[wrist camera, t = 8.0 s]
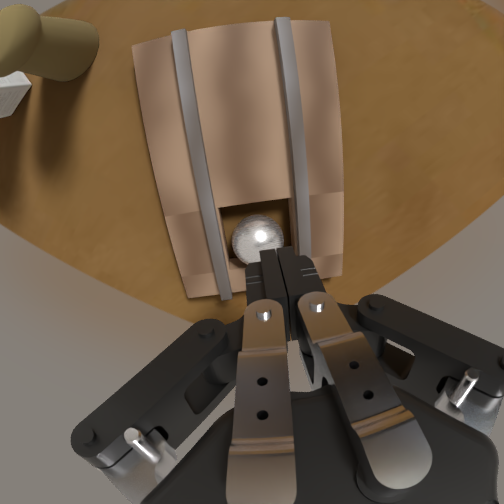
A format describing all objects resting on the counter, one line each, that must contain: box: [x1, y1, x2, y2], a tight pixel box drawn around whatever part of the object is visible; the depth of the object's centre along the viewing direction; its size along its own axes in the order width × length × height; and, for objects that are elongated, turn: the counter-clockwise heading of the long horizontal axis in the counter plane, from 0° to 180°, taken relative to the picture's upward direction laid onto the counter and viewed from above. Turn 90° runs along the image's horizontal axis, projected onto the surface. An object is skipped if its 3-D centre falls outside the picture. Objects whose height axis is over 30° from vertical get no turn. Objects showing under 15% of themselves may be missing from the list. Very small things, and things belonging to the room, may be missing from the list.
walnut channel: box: [132, 17, 344, 300], centre depth 22 cm, size 15×23×3 cm, turn 7°
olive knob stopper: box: [0, 4, 99, 82], centre depth 12 cm, size 6×6×11 cm
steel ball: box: [232, 215, 284, 265], centre depth 25 cm, size 4×4×4 cm
